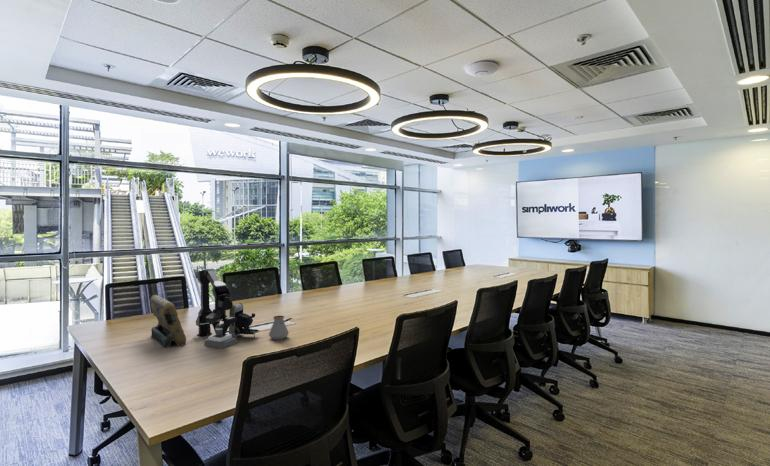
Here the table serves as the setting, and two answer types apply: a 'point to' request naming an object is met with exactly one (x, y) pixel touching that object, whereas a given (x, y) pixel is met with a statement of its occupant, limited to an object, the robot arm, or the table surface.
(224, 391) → the table surface
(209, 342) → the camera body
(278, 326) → the coffee pot
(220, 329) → the lens
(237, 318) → the vintage camera
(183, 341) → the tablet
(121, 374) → the table surface
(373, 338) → the table surface
